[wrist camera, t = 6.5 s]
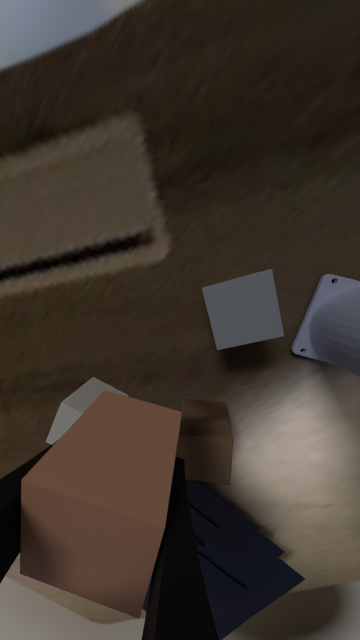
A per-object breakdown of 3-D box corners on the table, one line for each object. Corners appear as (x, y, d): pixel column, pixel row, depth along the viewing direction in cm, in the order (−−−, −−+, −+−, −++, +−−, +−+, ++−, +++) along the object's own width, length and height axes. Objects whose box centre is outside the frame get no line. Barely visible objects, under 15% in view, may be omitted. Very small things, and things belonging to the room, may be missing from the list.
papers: (199, 621, 26) (196, 672, 22) (54, 492, 30) (32, 519, 26) (304, 534, 20) (322, 584, 17) (110, 390, 24) (91, 406, 21)
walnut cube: (225, 401, 20) (233, 439, 15) (223, 438, 20) (230, 485, 16) (182, 398, 20) (176, 434, 15) (182, 434, 21) (177, 478, 16)
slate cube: (250, 274, 17) (271, 269, 12) (260, 322, 17) (284, 335, 12) (201, 288, 17) (201, 288, 13) (212, 333, 18) (217, 350, 13)
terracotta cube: (181, 411, 10) (165, 527, 5) (165, 474, 11) (139, 619, 6) (104, 390, 10) (21, 479, 6) (96, 452, 12) (20, 573, 7)
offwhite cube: (128, 395, 21) (107, 426, 16) (113, 426, 22) (89, 464, 17) (93, 377, 21) (61, 402, 16) (79, 408, 22) (45, 441, 17)
